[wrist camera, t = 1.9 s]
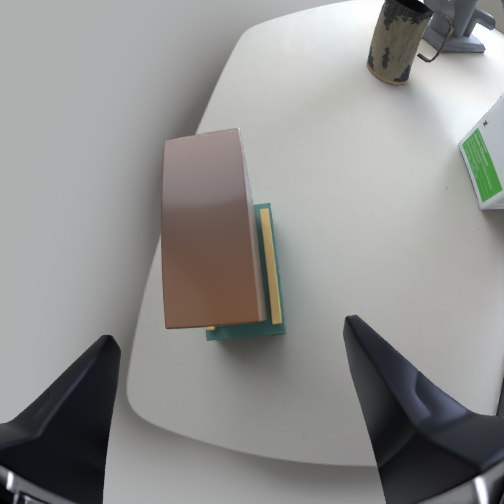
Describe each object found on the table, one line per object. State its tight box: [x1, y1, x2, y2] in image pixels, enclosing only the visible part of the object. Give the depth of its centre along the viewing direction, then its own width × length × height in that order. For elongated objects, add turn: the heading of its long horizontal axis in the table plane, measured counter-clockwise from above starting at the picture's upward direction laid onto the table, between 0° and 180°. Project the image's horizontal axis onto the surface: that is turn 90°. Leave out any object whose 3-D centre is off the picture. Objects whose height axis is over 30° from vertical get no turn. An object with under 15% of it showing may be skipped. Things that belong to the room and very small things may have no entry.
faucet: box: [422, 0, 504, 53], centre depth 18 cm, size 18×16×20 cm
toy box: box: [206, 203, 286, 341], centre depth 20 cm, size 9×5×4 cm, turn 6°
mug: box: [367, 0, 455, 85], centre depth 20 cm, size 8×6×12 cm
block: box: [161, 128, 267, 329], centre depth 14 cm, size 7×3×10 cm, turn 6°
